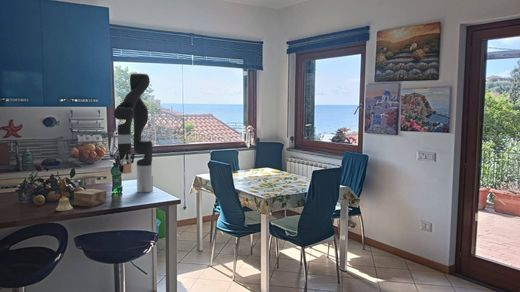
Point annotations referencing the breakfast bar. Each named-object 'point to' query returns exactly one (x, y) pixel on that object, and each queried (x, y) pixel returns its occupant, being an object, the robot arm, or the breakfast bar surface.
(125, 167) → the terracotta cube
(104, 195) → the walnut block
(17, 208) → the breakfast bar surface
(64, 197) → the hand bell
